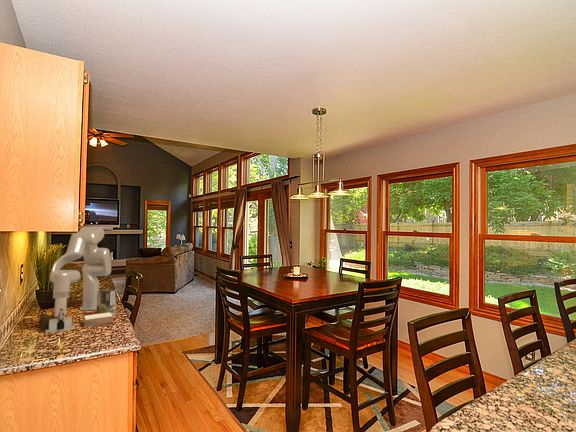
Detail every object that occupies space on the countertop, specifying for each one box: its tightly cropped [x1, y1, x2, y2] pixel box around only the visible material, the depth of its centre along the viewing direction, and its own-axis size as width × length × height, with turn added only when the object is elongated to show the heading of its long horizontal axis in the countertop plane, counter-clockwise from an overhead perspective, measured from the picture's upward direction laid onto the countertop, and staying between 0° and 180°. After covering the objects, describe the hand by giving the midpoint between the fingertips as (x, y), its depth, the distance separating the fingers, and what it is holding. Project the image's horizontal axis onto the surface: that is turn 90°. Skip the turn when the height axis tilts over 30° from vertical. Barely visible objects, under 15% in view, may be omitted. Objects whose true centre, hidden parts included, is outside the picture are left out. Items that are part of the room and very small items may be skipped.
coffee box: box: [96, 289, 117, 317], centre depth 203 cm, size 9×6×16 cm
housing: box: [44, 316, 76, 334], centre depth 176 cm, size 6×13×6 cm, turn 127°
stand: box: [82, 312, 114, 328], centre depth 188 cm, size 9×14×4 cm, turn 127°
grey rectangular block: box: [39, 312, 58, 330], centre depth 185 cm, size 6×10×20 cm
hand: (60, 327), depth 176 cm, fingers closed on housing, 6 cm apart
